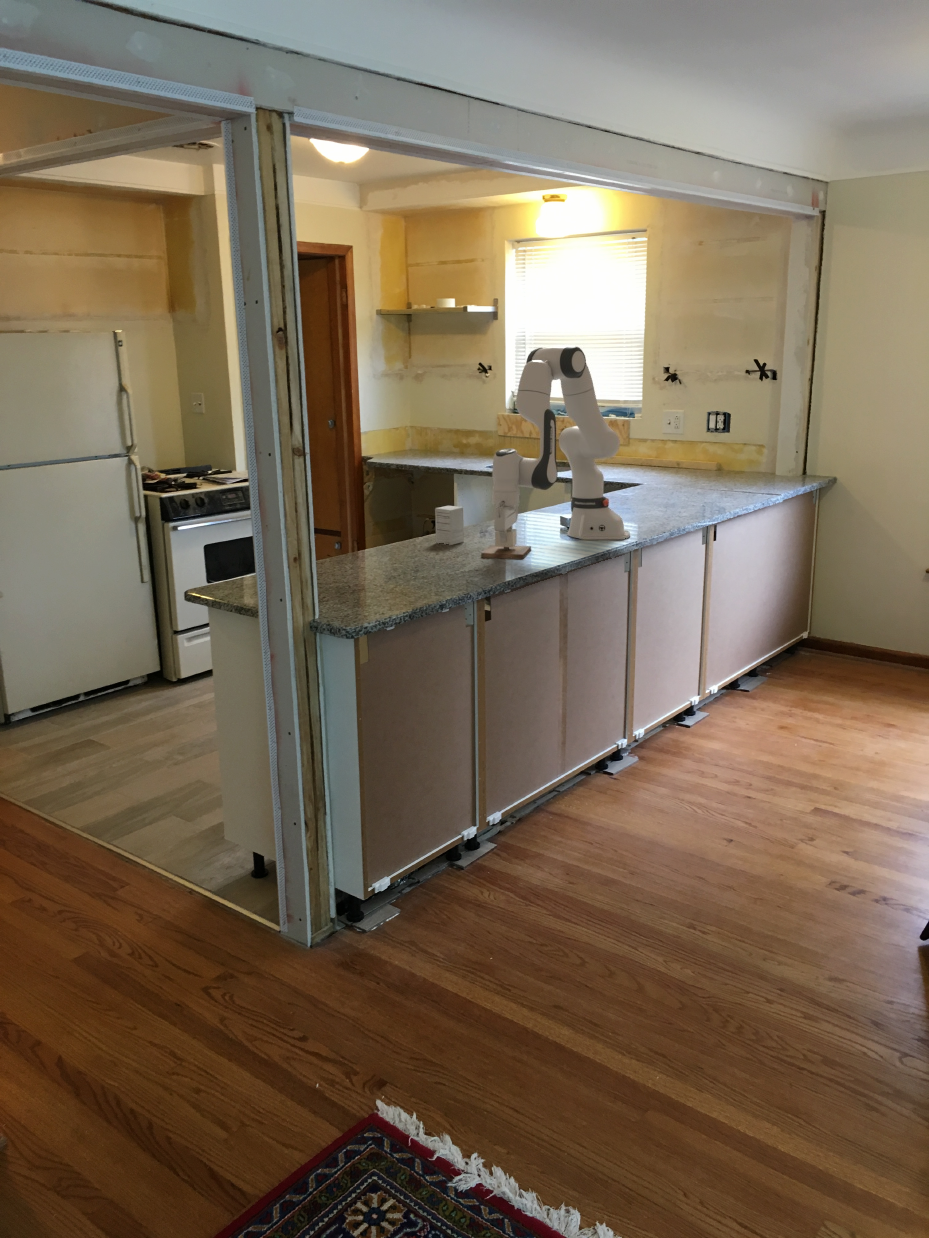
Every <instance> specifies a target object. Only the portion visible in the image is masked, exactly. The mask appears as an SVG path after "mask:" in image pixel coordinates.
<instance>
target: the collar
mask: <svg viewBox="0 0 929 1238" xmlns="http://www.w3.org/2000/svg"><path fill="white" fill-rule="evenodd" d="M517 533H518V532H517V528H512V529H507V530H506V537H507V541H506V542H505V543H501V542H500V534H499V531H495V530H494V545H495V547H514V546H517V544H518V543H517Z"/></svg>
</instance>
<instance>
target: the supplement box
mask: <svg viewBox="0 0 929 1238" xmlns="http://www.w3.org/2000/svg"><path fill="white" fill-rule="evenodd" d="M434 513H435V514H434V515H435V543H436V544H439V543H444V544H443V545H446V544H449V546H453V545H456V544H460V543H464V542H465V534H464V533H465V530H464V507H463V506H454V505H445V506H441V507H435V508H434Z"/></svg>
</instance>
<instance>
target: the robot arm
mask: <svg viewBox="0 0 929 1238" xmlns="http://www.w3.org/2000/svg"><path fill="white" fill-rule="evenodd" d="M557 380H559V381H560V387H561V393H562V397H563V403H564V407H565V411H566V414H567V416H568V418H569V419H570V420H571V421H572V422H574V423H575V425H574V426H570V427H566V428H564V429H563V430H562V431H561V432H560V435H559V437H558V445H559V449H560V450H561V452H562V453H563V454H564V455H565V457H566V459H567V461H568V463H569V466H570V471H571V478H572V496H571V499H570V511H571V516H570V524H569V528H568V532H567V536H569V537H571V538H577V539H579V540H586V541H587V540H591V541H593V540H598V541H599V540H601V541H602V540H603V541H604V540H626V539H628V538H630V536H631V533H630V531H628V530H626V529H625V526H624V525H625V523H624V521H623V519H622V517H621V515H619V514H618V513H616V512H615V511H614V510H612V508H611V507H609V506H610V504H609V503H610V500H609V497H606V496H604V484H605V482H604V481H605V479H604V473H603V472H602V471H601V470H600V468H598V465H597V464H596V461H595V460H606V459H610V458H613V457H615V456H616V455H617V454H618V453H619V452H618V451H619V449H620V446H621V440H620V436H619V435H618V434H617V432H615V431H614V430H613V429H612V428H611V427H610V426H609V424H608V423H607V422H606V420H605V417H604V416H603V414H602V413H601V410H600V408H599V405H598V400H597V396H596V391H595V386H594V383H593V378H592V374H591V371H590V369H589V365H588V364H587V359H586V354H585V353H584V351H583V349H582V348H580V347H579V346H576V345H572V344H570V345H552V346H548V347H538V348H535V349H533V350H531V351H530V353H529V354H528V356H527V358H526V363H525V364H524V367H523V370H522V372H521V375H520V378H519V383H518V388H517V393H516V400H515V407H516V409H517V412H518V414H519V415H520V417H522V418H523V419H524V420H526V421H527V422H529V423H531V424H533V425H534V426H536V427H537V429H538V431H539V457H538V458H534V457H531V458H529V457H524V456H522V455H520V454H518V450H517V449H514V448H502V449H499V450H498V451H496V452H495V453H494V455H493V460H492V471H491V472H492V475H491V476H492V480H493V486H492V505H493V506H496V508H495V510H494V520H493V521H494V522H493V524H494V525H493V526H494V527H493V529H494V532H495V531H499V534H500V542H501V543H505V542H506V541H507V537H506V530H507V529H513V525H515V523H517V522H518V516H519V515H518V514H519V505H520V502H521V494H520V487H524V488H531V489H532V488H533V489H536V490H541V491H547V490H549V489H550V488H551V487H552V486H553V485H554V484H555V483H556V482H557V479H558V466H557V465H558V464H557V419H556V417H557V416H556V414H555V413H554V411H553V410H552V408H551V402H550V400H551V393H552V382H553V381H557ZM625 538H626V539H625Z"/></svg>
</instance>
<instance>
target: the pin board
mask: <svg viewBox="0 0 929 1238" xmlns="http://www.w3.org/2000/svg"><path fill="white" fill-rule="evenodd" d="M531 551H532V546H530V545H529V546H528V545H515V546H514V547H495V544H490V545H488V546H487V547H486V548H485V549H484V550H482V552H481V554H480V557H481V558H482V557H483V558H484V559H489V558H490V559H508V560H509V559H512V560H524V559H525V558H526V556H527V555H528V554H529V553H530V552H531ZM483 558H482V559H483Z"/></svg>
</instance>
